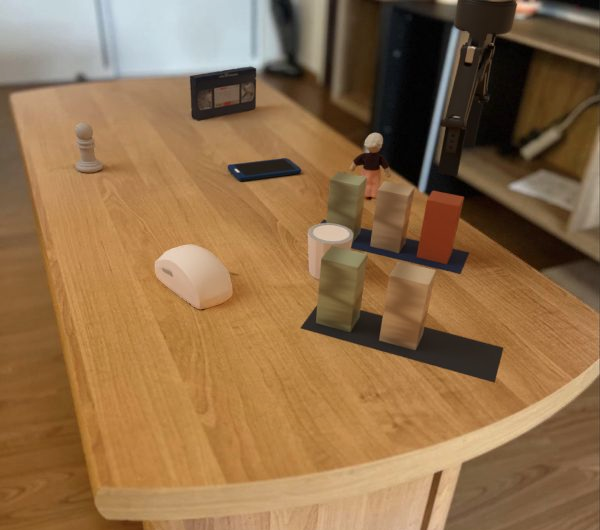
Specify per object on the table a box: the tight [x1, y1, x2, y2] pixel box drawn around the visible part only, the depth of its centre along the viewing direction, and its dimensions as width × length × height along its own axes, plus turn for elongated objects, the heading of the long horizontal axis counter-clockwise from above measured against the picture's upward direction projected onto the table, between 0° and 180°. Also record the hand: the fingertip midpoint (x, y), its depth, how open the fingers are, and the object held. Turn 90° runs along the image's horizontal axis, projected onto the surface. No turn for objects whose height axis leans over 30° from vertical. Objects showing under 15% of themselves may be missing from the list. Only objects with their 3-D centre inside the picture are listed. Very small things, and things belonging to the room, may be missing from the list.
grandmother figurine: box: [349, 132, 392, 203], centre depth 117 cm, size 8×4×13 cm, turn 88°
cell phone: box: [227, 157, 302, 182], centre depth 129 cm, size 7×14×1 cm, turn 115°
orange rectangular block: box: [417, 190, 465, 264], centre depth 100 cm, size 5×4×10 cm
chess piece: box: [74, 122, 104, 174], centre depth 123 cm, size 5×5×9 cm
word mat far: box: [306, 219, 470, 275], centre depth 106 cm, size 26×8×1 cm, turn 68°
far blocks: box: [325, 171, 416, 253], centre depth 104 cm, size 13×4×10 cm, turn 68°
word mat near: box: [300, 305, 504, 384], centre depth 85 cm, size 26×8×1 cm, turn 68°
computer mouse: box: [154, 243, 234, 310], centre depth 91 cm, size 6×13×6 cm, turn 42°
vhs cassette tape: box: [189, 66, 257, 121], centre depth 156 cm, size 18×3×10 cm, turn 130°
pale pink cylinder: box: [307, 222, 354, 280], centre depth 96 cm, size 7×7×7 cm
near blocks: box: [316, 246, 437, 350], centre depth 83 cm, size 14×4×10 cm, turn 68°
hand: (456, 159), depth 94 cm, fingers open, 13 cm apart
